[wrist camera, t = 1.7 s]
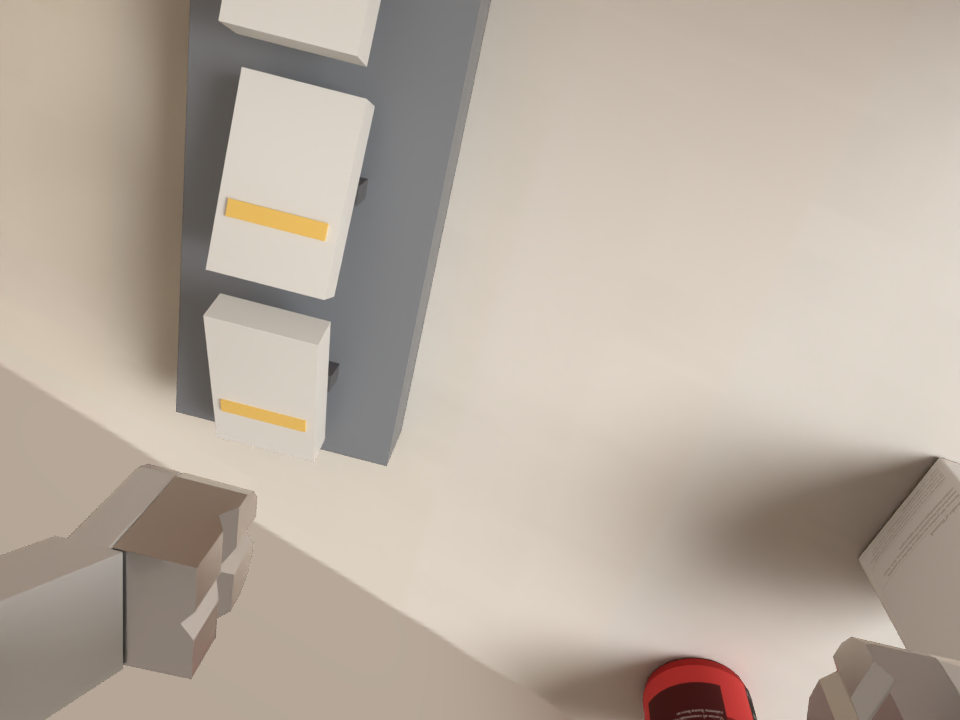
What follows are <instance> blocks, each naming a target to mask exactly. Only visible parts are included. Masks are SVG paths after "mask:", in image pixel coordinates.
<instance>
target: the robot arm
mask: <svg viewBox="0 0 960 720" xmlns="http://www.w3.org/2000/svg"><path fill="white" fill-rule="evenodd" d="M256 509H257V496H256V494H255V492H254V491H251V490H247V489H243V488H239V487H236V486H232V485H228V484H224V483H221V482H217V481H213V480H209V479H206V478H202V477H198V476H194V475H191V474H187V473H180V472H177V471H174V470H170V469H166V468H162V467H158V466H154V465H151V464H146V465H143V466H140V467H138V468H137V469H136V470H135V471H134V472H133V473H132V474H131V475H130V476H129V477H128V478H127V479H126V480H125V481H124V482H123V483H122V484H121V485H120V486H119V487H118V488H117V489H116V490H115V491H114V492H113V493H112V494H111V495H110V496H109V497H108V498H107V499H106V500H105V501H104V502H103V503H102V504H101V505H100V506H99V507H98V508H97V509H96V510H95V511H94V512H93V513H92V514H91V515H90V516H89V517H88V518H87V519H86V520H85V521H84V522H83V523H82V524H81V525H80V526H79V527H78V528H77V529H76V530H75V531H74V532H73V533H72V534H71V535H70V536H69V537H68V538H63V537H59V536H53V537H50V538H48V539H45V540H42V541H40V542H36V543H34V544H31V545H28V546H25V547H22V548H20V549H17V550H14V551H11V552H9V553H6V554H3V555H0V720H45V719H47V718H48V717H50V716H51V715H52V714H54V713H56V712H57V711H59V710H60V709H62V708H63V707H65V706H66V705H68V704H69V703H71V702H73V701H74V700H76V699H77V698H79V697H80V696H82V695H84V694H85V693H87V692H88V691H90V690H91V689H93V688H94V687H96V686H97V685H99V684H100V683H102V682H104V681H105V680H106V679H108V678H110V677H111V676H113V675H114V674H116V673H117V672H119V671H120V670H122V669H123V665H127V666H132V667H136V668H141V669H146V670H150V671H155V672H160V673H165V674H169V675H174V676H179V677H183V678H188V679H192V677H193V675H194V674H195V672H196V670H197V668H198V667H199V665H200V663H201V661H202V660H203V658H204V656H205V655H206V653H207V651H208V649H209V648H210V646H211V644H212V643H213V641H214V639H215V638H216V626H217V618H219V617H221V616H222V615H225V614H226V613H228V612H230V611H231V610H232V608H233V606H234V604H235V602H236V601H237V599H238V597H239V595H240V593H241V590H242V588H243V585H244V582H245V580H246V577H247V575H248V572H249V567H250V563H251V558H252V552H253V541H252V539H251V538H250V536H249V534H248V533H247V530H248V528H249V527H250V525H251V524H252V522H253V520H254V519H255V517H256ZM833 658H834V661H835V665H836V668H837V671H836V672H834V673H832V674H830V675H828V676H826V677H824V678H822V679H820V680H819V681H818V683H817V685H816V686H815V688H814V690H813V692H812V694H811V696H810V698H809V705H808V713H807V720H960V661H958V660H954V659H949V658H945V657H940V656H936V655H931V654H922V653H918V652H914V651H910V650H906V649H901V648H897V647H893V646H889V645H884V644H880V643H876V642H872V641H867V640H863V639H859V638H855V637H850V638H849V639H847V640H846V641H844V642H843V643H841V645H840V646H839V648H838V650H837V651H836V653H835V654H834V656H833Z"/></svg>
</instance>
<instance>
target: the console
mask: <svg viewBox="0 0 960 720" xmlns="http://www.w3.org/2000/svg"><path fill="white" fill-rule="evenodd" d="M490 2H491V0H381V2H380V7H379V11H378V16H377V21H376V26H375V31H374V35H373V40H372V45H371V50H370V54H369V59H368V64H367V67H365V66H361V65H357V64H353V63H349V62H345V61H342V60H338V59H334V58H330V57H326V56H322V55H318V54H314V53H310V52H306V51H302V50H299V49H295V48H291V47H287V46H283V45H279V44H275V43H271V42H267V41H263V40H259V39H256V38H252V37H248V36H244V35H240V34H236V33H235V32H233V31H232V30H231V29H229V28H228V27H227V26H225V25H224V24H222V23H221V22H220V21H218V20H219V14H220V9H221V3H222V0H190V21H189V50H188V79H187V108H186V137H185V166H184V195H183V223H182V252H181V281H180V310H179V339H178V368H177V397H176V412H179V413H183V414H187V415H191V416H195V417H199V418H202V419H206V420H210V421H214V422H215V416H214V407H213V398H212V389H211V380H210V371H209V362H208V353H207V344H206V335H205V326H204V318H203V315H204V314H205V313H206V311H207V310H208V309H209V307H210V306H211V305H212V303H213V302H214V301H215V299H216V298H217V297H218V295H219V294H220V293H221V294H225V295H229V296H233V297H237V298H241V299H245V300H249V301H252V302H256V303H260V304H264V305H268V306H272V307H276V308H280V309H283V310H287V311H291V312H295V313H299V314H303V315H307V316H311V317H314V318H318V319H322V320H326V321H330V322H331V325H330V345H329V365H328V385H327V405H326V425H325V440H324V442H323V444H322V446H321V449H322V450H326V451H330V452H334V453H338V454H342V455H345V456H349V457H353V458H357V459H361V460H365V461H369V462H372V463H376V464H380V465H384V466H387V464H388V462H389V459H390V457H391V454H392V452H393V449H394V447H395V445H396V442H397V440H398V437H399V435H400V433H401V429H402V424H403V420H404V415H405V410H406V405H407V400H408V396H409V391H410V386H411V381H412V376H413V372H414V367H415V362H416V357H417V352H418V348H419V343H420V338H421V333H422V328H423V324H424V319H425V314H426V309H427V304H428V300H429V295H430V290H431V285H432V280H433V276H434V271H435V266H436V261H437V256H438V252H439V247H440V242H441V237H442V232H443V228H444V223H445V218H446V213H447V208H448V204H449V199H450V194H451V189H452V184H453V180H454V175H455V170H456V165H457V160H458V156H459V151H460V146H461V141H462V136H463V132H464V127H465V122H466V117H467V112H468V108H469V103H470V98H471V93H472V88H473V84H474V79H475V74H476V69H477V64H478V60H479V55H480V50H481V45H482V40H483V36H484V31H485V26H486V21H487V16H488V12H489V7H490ZM242 67H244V68H248V69H252V70H256V71H260V72H264V73H268V74H272V75H275V76H279V77H283V78H287V79H291V80H295V81H299V82H303V83H307V84H311V85H315V86H318V87H322V88H326V89H330V90H334V91H338V92H342V93H346V94H350V95H354V96H357V97H361V98H365V99H367V100H368V101H370V102H371V103H372V104H373V105H374V106H375V108H374V113H373V118H372V122H371V127H370V132H369V136H368V141H367V146H366V150H365V155H364V160H363V164H362V169H361V174H360V178H359V183H358V188H357V192H356V197H355V202H354V206H353V211H352V216H351V221H350V225H349V230H348V235H347V239H346V244H345V249H344V253H343V258H342V263H341V267H340V272H339V277H338V281H337V286H336V291H335V295H334V297H332V298H329V299H326V300H322V299H318V298H314V297H311V296H307V295H303V294H299V293H295V292H291V291H287V290H283V289H280V288H276V287H272V286H268V285H264V284H260V283H256V282H252V281H248V280H245V279H241V278H237V277H233V276H229V275H225V274H221V273H217V272H214V271H210V270H206V265H207V259H208V253H209V248H210V242H211V237H212V231H213V225H214V220H215V214H216V208H217V203H218V197H219V192H220V186H221V180H222V175H223V169H224V164H225V158H226V152H227V147H228V141H229V135H230V130H231V124H232V119H233V113H234V107H235V102H236V96H237V91H238V85H239V79H240V74H241V68H242Z"/></svg>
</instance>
